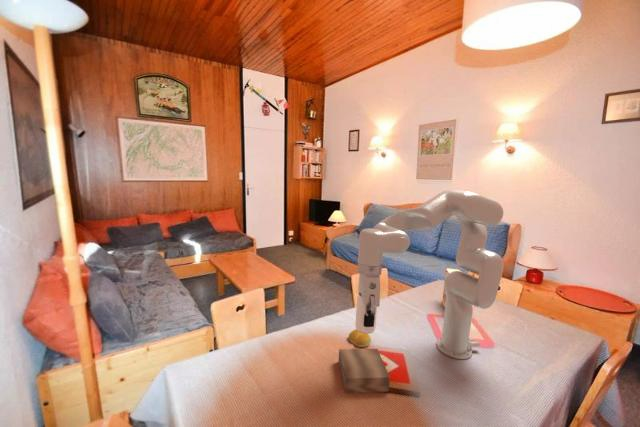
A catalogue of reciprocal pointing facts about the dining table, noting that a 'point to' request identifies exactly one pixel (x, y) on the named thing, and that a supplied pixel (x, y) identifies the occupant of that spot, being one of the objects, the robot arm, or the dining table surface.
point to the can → (360, 317)
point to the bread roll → (359, 338)
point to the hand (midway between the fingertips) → (365, 319)
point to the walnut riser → (363, 371)
